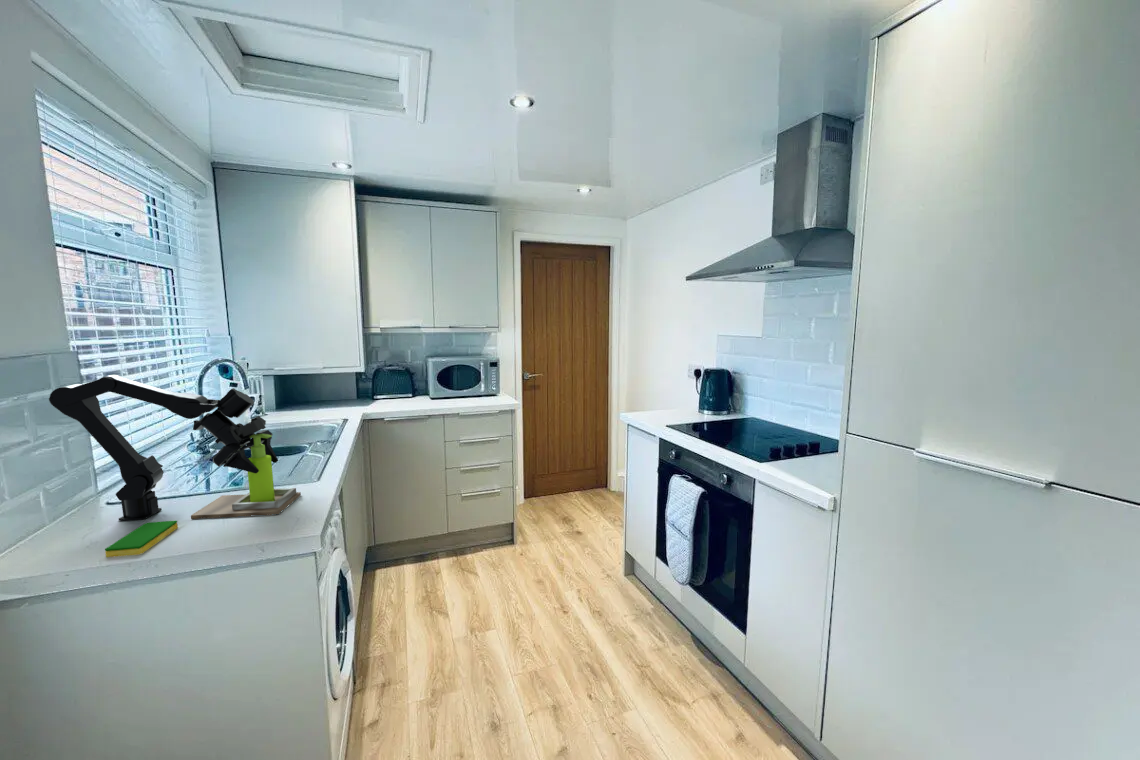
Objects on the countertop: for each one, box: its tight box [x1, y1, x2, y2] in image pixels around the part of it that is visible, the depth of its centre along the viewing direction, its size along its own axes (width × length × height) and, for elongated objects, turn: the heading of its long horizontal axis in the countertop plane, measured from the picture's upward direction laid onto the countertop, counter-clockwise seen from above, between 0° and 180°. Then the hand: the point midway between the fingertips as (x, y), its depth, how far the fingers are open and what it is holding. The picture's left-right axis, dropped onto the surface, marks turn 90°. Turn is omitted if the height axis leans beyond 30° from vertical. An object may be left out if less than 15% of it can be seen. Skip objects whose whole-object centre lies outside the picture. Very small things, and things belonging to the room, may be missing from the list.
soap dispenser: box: [247, 433, 275, 502], centre depth 132 cm, size 6×7×20 cm
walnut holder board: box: [190, 487, 301, 520], centre depth 132 cm, size 22×14×3 cm, turn 98°
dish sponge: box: [104, 520, 179, 558], centre depth 112 cm, size 7×14×2 cm, turn 11°
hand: (267, 466), depth 132 cm, fingers open, 9 cm apart
